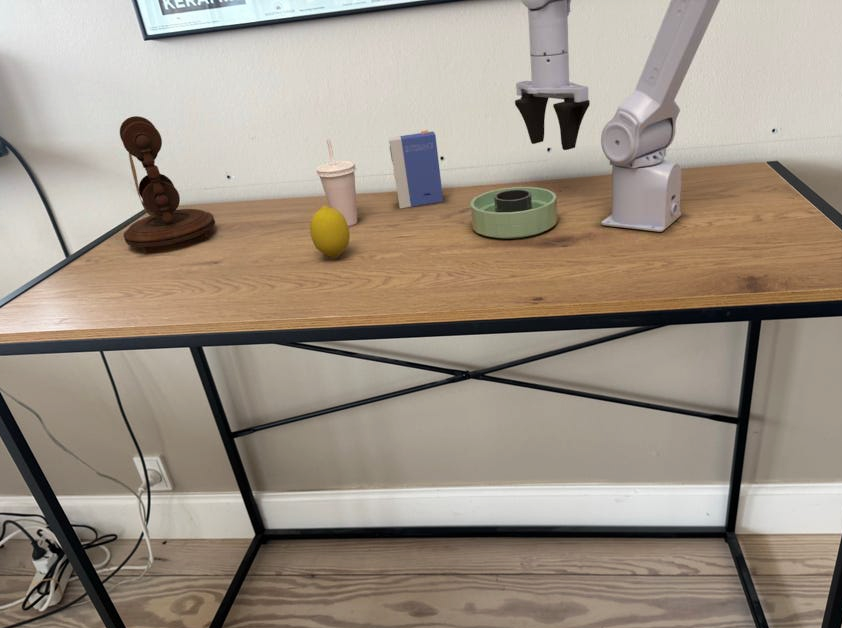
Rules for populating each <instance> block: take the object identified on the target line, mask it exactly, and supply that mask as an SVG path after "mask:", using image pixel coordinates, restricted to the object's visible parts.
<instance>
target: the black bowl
mask: <svg viewBox="0 0 842 628" xmlns="http://www.w3.org/2000/svg"><path fill="white" fill-rule="evenodd" d="M494 203H495V212H519V211H526V210H530V209H532V193H531V192H530V191H527V190H507V191H503V192H499V193H497V194H496V195H495V196H494Z"/></svg>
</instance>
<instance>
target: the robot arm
mask: <svg viewBox="0 0 842 628" xmlns="http://www.w3.org/2000/svg"><path fill="white" fill-rule="evenodd" d="M520 1H521V3H522V4H523V5H524V6H525V7H526V8H527V19H528V36H529V37H528V38H529V55H530V77H531V78H530V79H531V80H522V81H517V82H516V83H515V88H516V89H515V90H516V96H519V97H520V98H518V99H515V100H514V105H515V107H516V108H517V110H518V112H519V113H520V115H521V117H522V119H523V122H524V124H525V127H526V130H527V133H528V137H529V140H530V143H531V144H532V145H536V144H539V143H542V142H544V140H545V119H546V111H547V106H548V102H549V99H556V100H563V101H561V102H556V103H553V104H552V107H553V109H554V112H555V115H556V118H557V121H558V124H559V132H560V144H561V149H562V150H563V151H569V150H571V149H575V148H576V145H577V140H578V136H579V131H580V128H581V125H582V122H583V119H584V117H585V114H586V112H587V110H588V109H589V107H590V106H591V105H590V103H591V101H590V100H589V86H586V85H582V84H577V83H574V82H571V81H570V57H569V19H568V18H569V15H570V13H571V3H572V0H520ZM720 1H721V0H670V2H669V4H668V7H667V9H666V11H665V14H664V16H663V19H662V21H661V23H660V26H659V28H658V31H657V34H656V36H655V39H654V42H653V44H652V46H651V49H650V51H649V54H648V56H647V58H646V61H645V63H644V66H643V68H642V71H641V74H640V76H639V79H638V81H637V84H636V86H635V88H634V90H633V91H632V92H631V94H629V95H628V97H626V98H625V99H624V100H623V101H622V102H621V103H620V104H619V106H617V109H616V112H615V114H614V115H613V117H612V118H611V119H610V120H609V121H608V122H607V123H606V124H605V125H604V126H603V128H602V131H601V135H600V136H601V137H600V144H601V149H602V152H603V154H604V156H605V157H606V159H607V160H609V165H610V166H611V214H610V215H609V216H607V217H606V218H605V219H603V220H602V221H601V226H604V227H605V226H607V227H615V228H624V229H632V230H641V231H648V232H649V231H650V232H658V233H662V232H664V231H665V230H666V229H667V228H669V226H671V225H672V224H673V223H674V222H675V221H676V220H677V219H679V218H680V217H681V216H682V212H681V198H682V197H681V195H682V194H681V193H682V168H681V166H680V164H678V163H675V162H671V161H670V162H669V161H667V160H665V157H666V156H667V148H669V147H670V146H671V144H672V143H673V141H674V139H675V136H676V125H677V119H678V116H679V114H680V111H681V108H680V107H679V106H678V104H677V102H676V98H677V95H678V93H679V91H680V89H681V86H682V85H683V83H684V80H685V77H686V75H687V74H688V71H689V69H690V67H691V65H692V62H693V60H694V59H695V57H696V54H697V52H698V49H699V47H700V45H701V43H702V40H703V39H704V36H705V33H706V32H707V30H708V28H709V25H710V23H711V21H712V19H713V16H714V14H715V12H716V11H717V7H718V5H719V4H720Z"/></svg>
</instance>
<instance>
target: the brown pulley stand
mask: <svg viewBox="0 0 842 628" xmlns="http://www.w3.org/2000/svg"><path fill="white" fill-rule="evenodd" d="M119 137H120V140H121V142H122V144H123V147H124V149H125V150H126V151H127V153H128V158H129V163H130V169H131V174H132V177H133V181H134V185H135V189H136V192H137V195H138V197H139V200H140V203H141V205H142V207H143V209H144V211H145V212H146V213H147V215H149V216H146V217H143V218H141V219H139V220H137V221H135V222H134V223H132V224H131V225H130V226H129V227H128V228H127V229H126V230H125V231H124V233H122V234H123V238H124V241H125V244H126V245H128V246H131V247H135V248H141V250H142V251H143V252H144V253H145V254H146V255H149V254H150V248H151V247H160V246H166V245H167V246H168V245H171V244H176V243H180V242H185V241H187V240H191V239H194V238H196V237H199V236H200V237H201V238H202V239H203V240H204V241H207V240H208V231H210V230H212V228H214V227H215V225H216V220H215V216H214V214H213V213H211V212H209V211H205V210H202V209H197V208H181V209H180V208H179V205H180V201H181V198H180V193H179V191H178V189H177V188H176V186H175V184H174V183H173V181H172V180H171V179H170V178H169V177H168V176H167V175H165V174H163V173H160V170H159V167H158V166H157V165H155V163H156V161H155V160H156V159H157V157H158V154H159V153H160V151H161V150H162V145H163V140H162V136H161V134H160V132H159V130H158V129H157V127H156V126H155V125H154V124H153V122H151V120H149V119H147V118H145V117H143V116H138V115H135V116H129V117H127V118H126V119H125V120H123V122H122V123H121V125H120V126H119ZM133 157H135V158H136V159H137V160H138V161H139V162H140V163H141V164H142V168H144V171H146V175H145V176H143V177H142V179H141V180H140V181H138V176H137V175H138V174H137V170H136V167H135V163H134V159H133ZM178 208H179V209H178Z"/></svg>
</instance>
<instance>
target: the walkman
mask: <svg viewBox="0 0 842 628" xmlns="http://www.w3.org/2000/svg"><path fill="white" fill-rule="evenodd" d="M436 135H437V134H436V132H434V131H429V130H428V129H427V130H421V131H420V133H412V134H404V135H398V136H391V137H389V140H388V144H389V152H390V153H389V154H390V158H391V159H390V160H391V162H392V167H393V176H394V180H395V187H396V193H397V200H398V205H399V209H405V208H412V207H418V206H425V205H431V204H437V203H443V202H444V195H443V187H442V186H443V185H442V178H441V177H442V176H441V170H440V161H439V152H438V145H437V137H436Z"/></svg>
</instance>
